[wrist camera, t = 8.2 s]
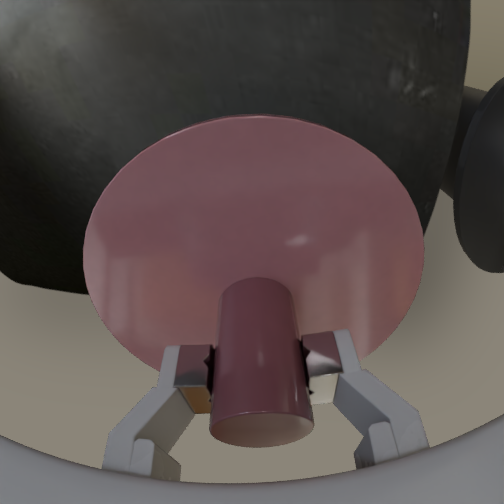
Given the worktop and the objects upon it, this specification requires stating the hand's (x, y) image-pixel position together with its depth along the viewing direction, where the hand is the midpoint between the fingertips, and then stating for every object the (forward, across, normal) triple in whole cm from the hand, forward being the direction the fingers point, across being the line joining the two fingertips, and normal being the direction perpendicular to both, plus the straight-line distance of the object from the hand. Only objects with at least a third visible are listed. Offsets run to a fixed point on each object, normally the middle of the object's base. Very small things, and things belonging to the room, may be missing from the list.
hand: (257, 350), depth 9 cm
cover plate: (+3, 0, 0) cm, 3 cm away
